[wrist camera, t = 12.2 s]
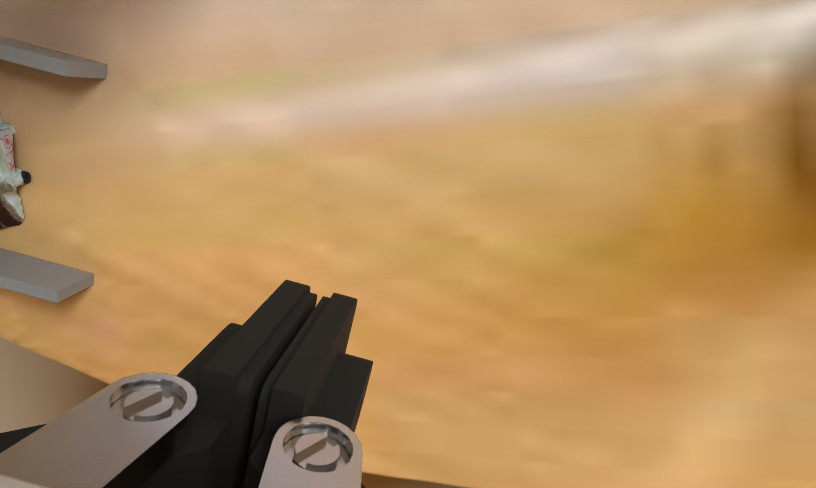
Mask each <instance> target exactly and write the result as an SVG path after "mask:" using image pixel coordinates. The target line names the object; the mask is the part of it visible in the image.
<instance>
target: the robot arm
mask: <svg viewBox="0 0 816 488" xmlns="http://www.w3.org/2000/svg"><path fill="white" fill-rule="evenodd" d="M316 301H317V294H313V293H310V286H308V285H304V284H300V283H297V282H293V281H289V280H285V281H284V282H283V283H282V284H281V285H280V286H279V287H278V288H277V289H276V291H275V292H274V293H273V294H272V295H271V296H270V297H269V298H268V299H267V300H266V301H265V302H264V303H263V304H262V305H261V306H260V307H259V308H258V309H257V311H256V312H255V313H254V314H253V315H252V316H251V317H250V318H249V319H248V320H247V321H246V322H245V323H244V324H243V325H239V324H235V323H231V324H229V325H228V326H227V327H226V328H224V329H223V330H222V331H221V332H220V333H219V334H218V335H217V336H216V337H215V338H214V339H213V340H212V341H211V342H210V343H209V344H208V345H207V346H206V347H205V348H204V349H203V350H202V351H201V352H200V353H199V354H198V355H197V356H196V357H195V358H194V359H193V360H192V361H191V362H190V363H189V364H188V365H187V366H186V367H185V368H184V369H183V370H182V371H181V372H180V373H179V374H178V375H177V376H174V375H170V374H164V373H142V374H136V375H132V376H128V377H124V378H122V379H120V380H118V381H116V382H114V383H112V384H110V385H109V386H107V387H105V388H104V389H102V390H101V391H99V392H98V393H96V394H94V395H93V396H91V397H89V398H88V399H86V400H85V401H83V402H82V403H80V404H78V405H77V406H75V407H73V408H72V409H70V410H69V411H67V412H66V413H64V414H62V415H61V416H59V417H58V418H56V419H54V420H53V421H51V422H50V423H48V424H44V425H38V426H34V427H29V428H24V429H19V430H14V431H9V432H5V433H0V488H365V487H364V486H363V484H362V483H361V473H362V455H363V452H362V446H361V442H360V441H359V439H358V437H357V436H356V434H355V433H354V432H355V428H356V425H357V422H358V418H359V415H360V411H361V408H362V404H363V400H364V397H365V393H366V389H367V385H368V381H369V377H370V373H371V369H372V365H373V361H370V360H366V359H363V358H359V357H355V356H352V355H348V354H345V352H346V348H347V343H348V339H349V335H350V331H351V326H352V322H353V318H354V314H355V310H356V305H357V299H356V298H352V297H348V296H345V295H341V294H337V293H333V295H332V296H331V298H328V297H324V296H323V297H322V299H321V300H320V302H319V303H318V304H317V306H316ZM315 306H316V307H315Z"/></svg>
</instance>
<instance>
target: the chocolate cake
mask: <svg viewBox="0 0 816 488" xmlns="http://www.w3.org/2000/svg"><path fill="white" fill-rule="evenodd" d="M14 134H15V129H14V127H13V126H12V125H11V124H8V123H4V122H3V121H2V117H1V114H0V228H6V227H8V226H17V225H20V224H22V223H23V219H24V218H25V217H24V214H23V207H22V205H21V198H20V196H19V195H18V194H17V186H20V185H24V184H26V183H29V182H30V180H31V175H30V174H29V173H28V172H25V171H23V170H21V169H19V168H15V166H14V159H13V136H12V135H14Z"/></svg>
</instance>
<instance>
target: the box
mask: <svg viewBox="0 0 816 488" xmlns="http://www.w3.org/2000/svg"><path fill="white" fill-rule="evenodd" d="M0 59H1V60H5V61H9V62H13V63H16V64H20V65H24V66H28V67H32V68H35V69H39V70H43V71H47V72H51V73H54V74H58V75H62V76H66V77H85V78H106V71H107V65H106V64H102V63H99V62H95V61H91V60H87V59H83V58H79V57H76V56H72V55H68V54H64V53H60V52H57V51H53V50H49V49H45V48H41V47H38V46H34V45H30V44H26V43H22V42H18V41H15V40H11V39H7V38H3V37H0ZM93 278H94V274H92V273H89V272H85V271H81V270H78V269H74V268H70V267H67V266H63V265H59V264H56V263H52V262H48V261H45V260H41V259H37V258H34V257H30V256H27V255H23V254H19V253H16V252H12V251H8V250H5V249H1V248H0V288H4V289H7V290H11V291H15V292H18V293H22V294H26V295H29V296H33V297H36V298H40V299H44V300H47V301H51V302H55V303H58V302H60V301H62V300H64V299H66V298H68V297H70V296H72V295H74V294H76V293H78V292H80V291H82V290H84V289H86V288H87V287H89V286H91V285H93Z"/></svg>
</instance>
